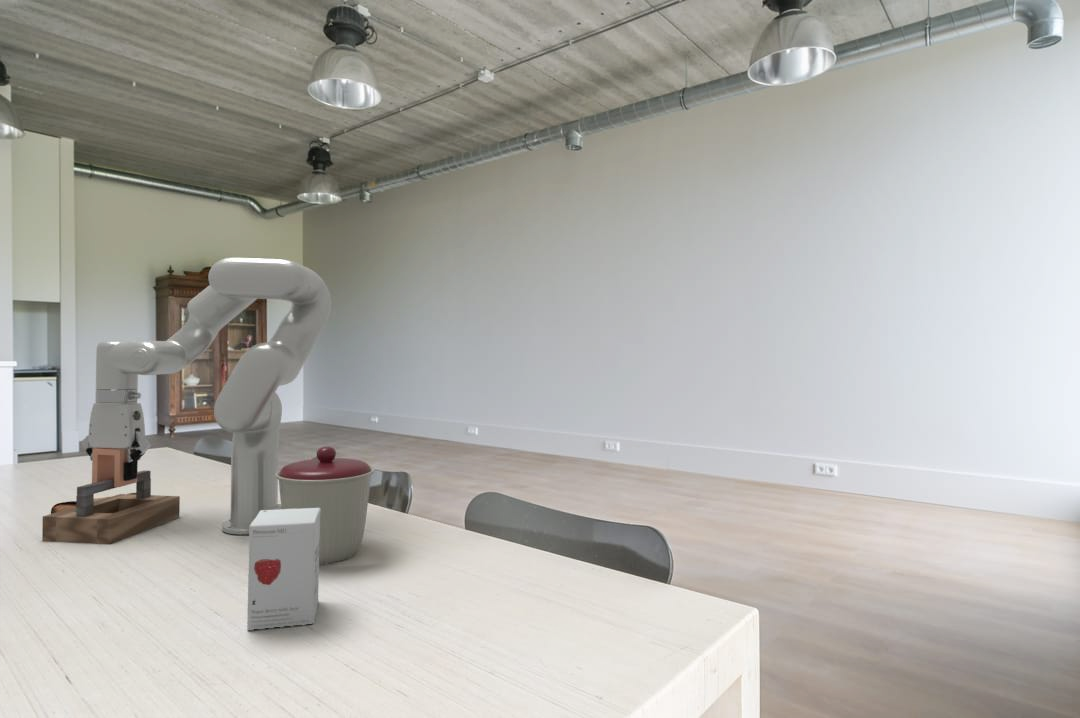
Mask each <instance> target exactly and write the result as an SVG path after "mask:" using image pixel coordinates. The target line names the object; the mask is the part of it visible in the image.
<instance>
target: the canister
mask: <svg viewBox="0 0 1080 718" xmlns="http://www.w3.org/2000/svg"><path fill="white" fill-rule="evenodd" d="M336 456H337V451H336V449H335V448H334V447H332V446H322V447H320V448H318V449H317V451H316V457H317V458H312V459H303V460H299V461H294V462H292V463H289V464H287V465H285V466H283V467H282V468H281V469H278V471H277V472H276V473H275V477H276V478H277V479H278V488H279V489H278V490H279V498H280V504H281V508H282V509H303V508H320V509H321V511H320V542H319V565H325V564H332V563H337V562H341V561H344V560H347V559H349V558H350V559H351V557H353V556H354V555H356V553H358V551H359V550H360V548H361V547H362V543H363V539H364V536H365V535H364V534H365V527H366V521H367V514H368V513H367V512H368V505H369V497H370V490H371V489H370V488H371V479H372V475H373V474H374V473H375V471H376V469H375V467H373V466H372V465H369V463H367V462H365V461H363V460H360V459H354V458H347V457H346V458H345V457H342V458H341V457H336Z"/></svg>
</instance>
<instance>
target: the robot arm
mask: <svg viewBox="0 0 1080 718" xmlns="http://www.w3.org/2000/svg"><path fill="white" fill-rule="evenodd" d="M208 284H209V285H208V286H207V287H205V288H204V289H202V291H200V292H199V293H198V294H197V295H195V296H193V298H192V299H190V300H189V302H187V306H186V307H187V311H188V318H187V321H186V322H185V324H184V325H183V326H182V327H181V328H180V329H178V331H176V332H175V333H174V334H173V335H172V336H170V337H169V338H168V339H167V340H138V341H124V340H122V341H121V340H104V341H100V342H99V343H98V344H97V346H96V352H95V353H96V357H95V360H96V361H95V362H96V363H95V400H94V401H95V403H93V405H92V408H91V412H90V418H89V424H88V435H86V436H85V438H83V439H82V440H81V442H80V446H81V447H82V448H83V449H84V451H85V452H86V454H87V455H88V456H89V459H90V461H91V462H92V451H93V449H95V448H101V449H123V450H124V456H125V459H126V461H127V462H124V476H123V479H124V481H128V480H132V479H136V478H137V472H138V467H137V463H138V462H139V461H141V458H142V456H144V455H145V454H146V452H147V451H148V450H149V449H150V448H151V447H152V444H151V442H150V441H149V440H148V439H147V438H146V429H145V418H144V417H145V415H144V411H143V407H142V406H143V405H142V404H141V402H140V403H139V402H138V400H139V399H141V397H142V394H141V392H138V385H139V383H138V382H139V381H138V380H139V375H141V376H158V375H170V374H171V375H172V374H175V373H176V374H177V373H178V372H180V371H182V370H183V369H185V368H187V367H188V366H189V365H190V364H191V363H192V362H194V361H195V360H196V359H197V358H198V357H200V356H201V355H202V354H203V353H205V351H207V350H208V348H209V347H210V346H211V344H212V343H213V341H215V339H216V338H217V335H218V333H219V332H220V331H221V330H222V329H223V328H224V327H225V326H226V325H228V324H229V323H230V322H231V321H232V320H233V319H235V318H236V317H237V316H238V315H240V314H241V313H242V312H243V311H244V310H246V309H247V308H248V307H249V306H251V305H252V304H253V303H255V301H257V300H258V299H261V300H262V299H263V300H264V299H265V300H281V301H285V302H290V303H291V307H290V310H289V311H288V312H287V313H286V314H285V316H284V317H283V318H282V320H281V321H280V322H279V325H278V326H277V328H276V330H275V332H274V334H273V335H272V337H271V338H270V339H269V341H268V342H261V343H257V344H255V345H252V346H251V347H250V348H248V349H247V350H246V351H245V352H244V353H243V354H242V355H241V357H239V359H238V361H237V363H236V365H235V367H234V368H233V370H232V371H231V373H230V375H229V377H228V379H227V380H226V382H225V384H224V385H223V386H222V389H221V391H220V392H219V394H218V396H217V398H216V400H215V403H214V406H213V415H214V419H215V421H216V423H217V425H218V426H219V427H220V428H221V429H223V430H224V431H225V432H228V433H233V434H232V439H231V449H230V450H231V451H230V452H231V453H230V454H231V456H230V458H231V459H230V519H229V520H226V521H225V522H224V523H222V526H221V527H222V532H224V533H226V534H231V535H249V527H250V525H251V523H252V522H253V520H254V519H255V518H256V516H257V515H258V513H259V512H260V511H261V510H279V509H282V508H281V503H279V500H278V497H279V494H278V493H279V492H278V491H279V489H278V488H279V480H278V479H277V478H276V477H275V473H276V472H277V471H279V442H280V438H279V437H280V428H281V421H282V414H283V406H282V401H281V398H280V397H279V395H278V394H277V392H276V391H277V390H278V388H279V387H281V386H285V385H289V384H290V383H292V382H293V381H294V380H295V379H297V377H298V375H299V374H300V372H301V370H302V368H303V366H304V364H305V363H306V360H308V357H309V355H310V354H311V352H312V350H313V348H314V346H315V344H316V342H317V340H318V339H319V337H320V335H321V333H322V332H323V330H324V329H325V326H326V325H327V323H328V320H329V317H330V315H331V311H332V298H331V292H330V291H329V288H328V286H327V285H326V282H325V281H324V279H323V278H322V277H321V276H320V275H319V274H318V273H317V272H315V271H314V270H312V269H311V268H309V267H307V266H305V265H302V264H300V263H299V262H295V261H292V260H290V259H289V260H288V259H280V258H279V259H278V258H258V257H257V258H254V257H253V258H252V257H237V256H236V257H224V258H222V259H220V260H217V261H216V262H215V263H214V264H213V265H212V266H211V268H210V269H209V272H208ZM137 447H138V449H137ZM130 450H132V455H131V452H130Z"/></svg>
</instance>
